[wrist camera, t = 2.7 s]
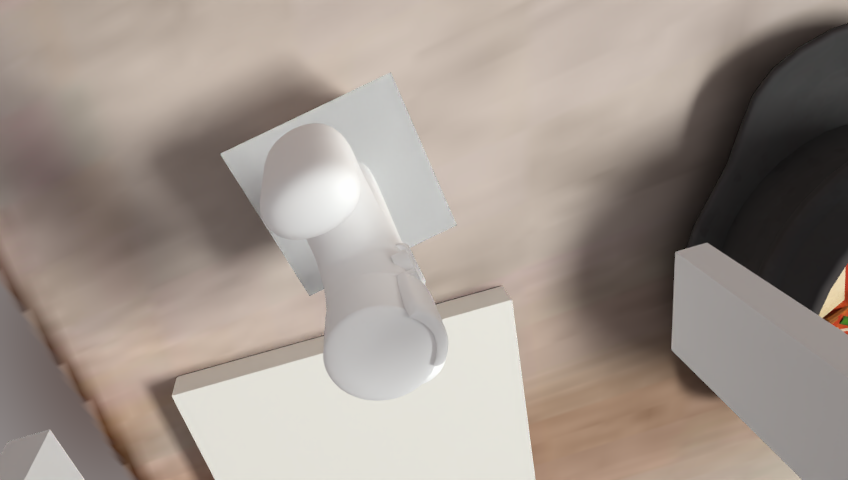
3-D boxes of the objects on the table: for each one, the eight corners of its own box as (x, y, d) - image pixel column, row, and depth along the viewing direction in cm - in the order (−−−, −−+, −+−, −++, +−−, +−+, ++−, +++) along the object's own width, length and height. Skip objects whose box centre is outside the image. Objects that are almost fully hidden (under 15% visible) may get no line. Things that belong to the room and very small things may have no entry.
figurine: (317, 275, 28) (342, 537, 15) (215, 107, 24) (124, 270, 11) (445, 214, 29) (580, 421, 15) (366, 35, 24) (460, 109, 11)
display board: (536, 534, 41) (544, 552, 40) (296, 614, 39) (296, 637, 38) (502, 285, 31) (511, 299, 30) (176, 376, 29) (171, 396, 28)
